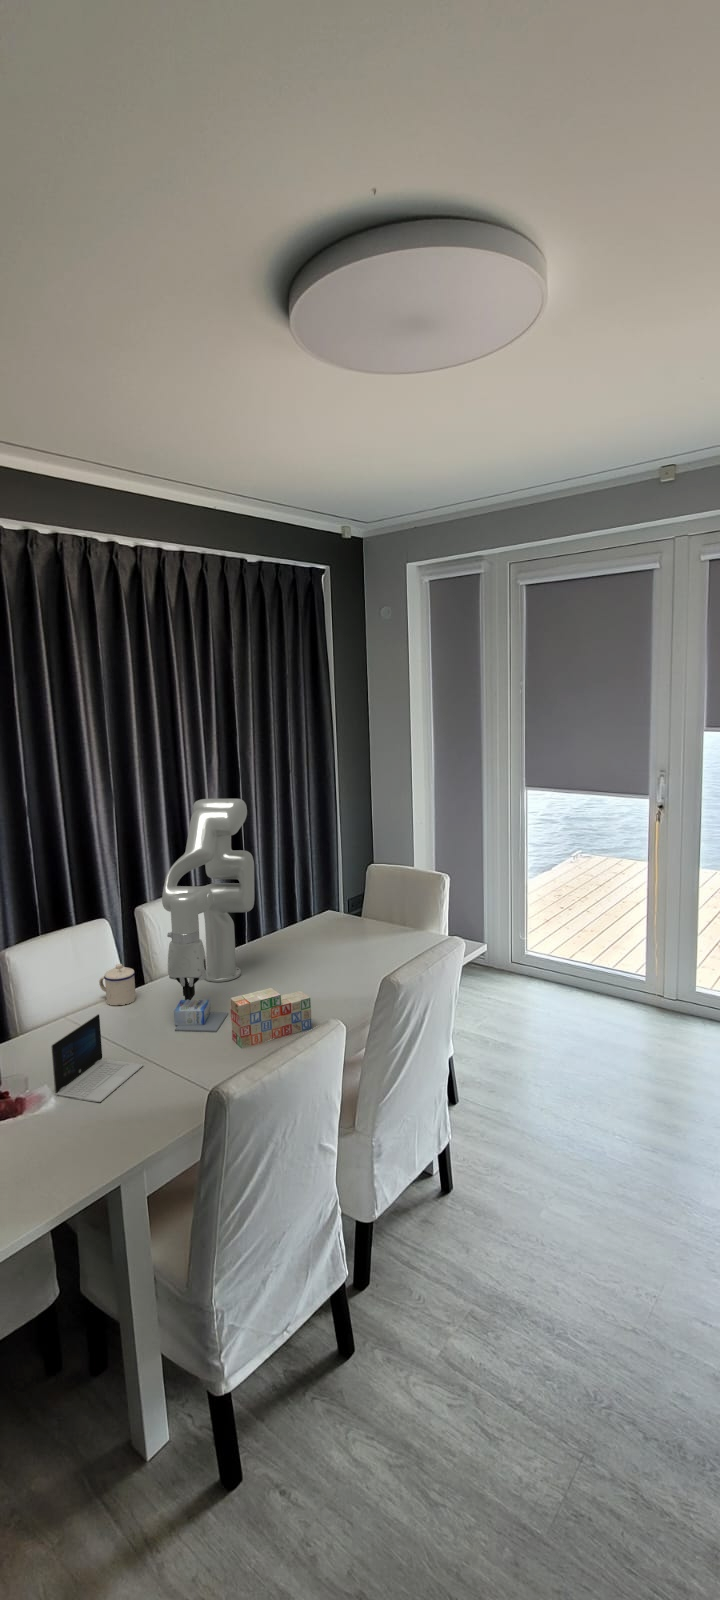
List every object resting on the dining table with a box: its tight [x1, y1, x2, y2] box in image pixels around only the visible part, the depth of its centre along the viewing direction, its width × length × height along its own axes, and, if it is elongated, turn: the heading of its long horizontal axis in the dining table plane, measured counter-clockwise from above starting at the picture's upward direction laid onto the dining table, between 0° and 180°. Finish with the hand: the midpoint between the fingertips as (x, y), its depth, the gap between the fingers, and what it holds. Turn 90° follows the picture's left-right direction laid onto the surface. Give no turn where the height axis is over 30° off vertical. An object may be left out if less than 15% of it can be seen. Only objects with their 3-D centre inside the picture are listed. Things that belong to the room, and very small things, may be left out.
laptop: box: [50, 1013, 144, 1103], centre depth 181 cm, size 18×12×13 cm
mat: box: [174, 1011, 229, 1033], centre depth 214 cm, size 12×12×1 cm
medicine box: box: [173, 999, 211, 1026], centre depth 214 cm, size 8×4×9 cm
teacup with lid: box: [98, 963, 137, 1006], centre depth 230 cm, size 12×9×12 cm
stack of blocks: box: [230, 987, 312, 1049], centre depth 205 cm, size 21×6×12 cm, turn 121°
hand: (189, 998), depth 213 cm, fingers closed
